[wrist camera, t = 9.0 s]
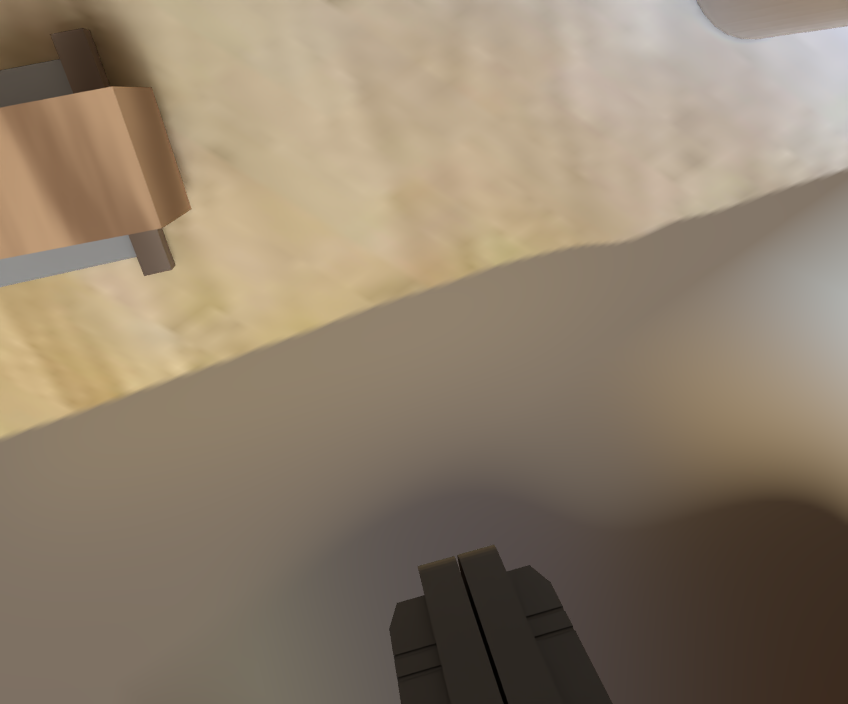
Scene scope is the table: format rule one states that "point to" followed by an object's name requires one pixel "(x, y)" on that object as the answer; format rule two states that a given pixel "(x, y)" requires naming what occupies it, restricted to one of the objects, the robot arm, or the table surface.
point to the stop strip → (90, 75)
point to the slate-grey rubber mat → (30, 87)
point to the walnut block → (85, 170)
